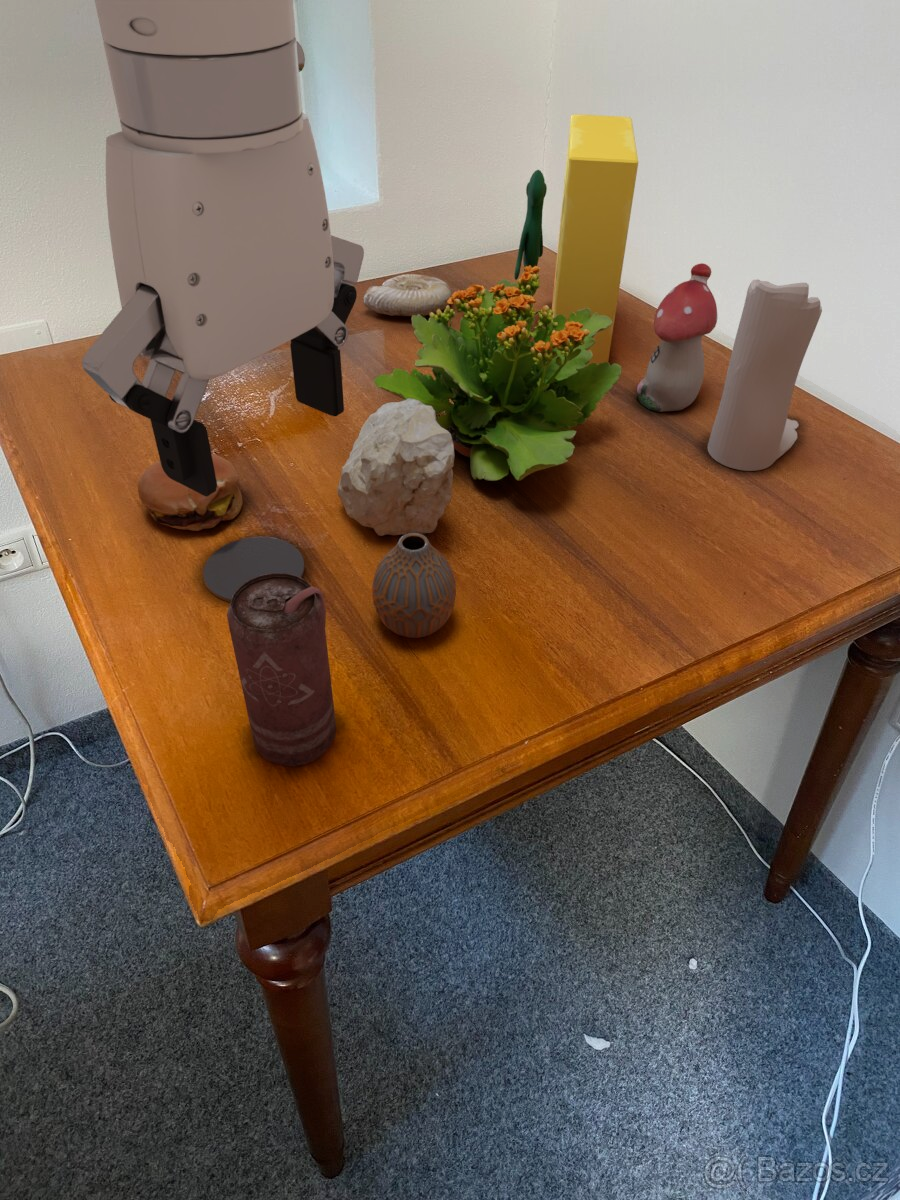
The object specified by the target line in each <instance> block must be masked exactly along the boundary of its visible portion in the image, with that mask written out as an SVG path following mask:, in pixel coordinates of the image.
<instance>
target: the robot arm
mask: <svg viewBox="0 0 900 1200" xmlns="http://www.w3.org/2000/svg"><path fill="white" fill-rule="evenodd" d="M94 4H95V8H96V14H97V18H98V22H99V28H100V32H101V38H102V41H103V48H104V52H105V57H106V61H107V66H108V71H109V76H110V82H111V85H112V91H113V95H114V100H115V104H116V109H117V114H118V118H119V123H120V127H121V131H118V132H116V133H113V134H109V135H107V136H106V139H105V191H106V193H105V194H106V207H107V218H108V229H109V235H110V236H109V237H110V244H111V251H112V259H113V266H114V272H115V278H116V284H117V290H118V296H119V301H120V307H121V309H120V311H119V312H118V313H117V315H116V316H115V317H114V318H113V319H112V321H110V322H109V324H108V325H107V326H106V328H105V329H104V330H103V332H102V333H101V334H100V335H99V336H98V337H97V338H96V339H95V341H94V342H93V343H92V344H91V346H90V347H89V348H88V349H87V351H85V353H84V354H83V356H82V358H81V366H82V370H84V372H86V374H88V376H89V377H91V379H92V380H93V381H94V382H95V383H96V384H97V385H98V386H99V387H100V388H101V389H102V390H103V391H104V392H105V393H107V394H108V397H109V398H110V400H111V401H112V402H114V403H116V404H117V405H119V406H122V407H124V408H126V409H128V410H130V411H132V412H134V413H136V414H138V415H140V416H143V417H144V418H147V419H149V421H150V423H151V429H152V432H153V436H154V437H153V438H154V440H155V444H156V449H157V452H158V453H157V454H158V457H159V460H160V462H161V466H162V469H163V470H164V472H165V474H166V475H167V476H168V477H169V478H171V479H172V480H174V481H176V482H178V483H180V484H182V485H184V486H186V487H188V488H190V489H192V490H194V491H196V492H198V493H200V494H202V495H204V496H209V495H210V494H212V493H214V492H215V491H216V487H217V481H216V475H215V470H214V465H213V460H212V454H213V453H212V450H211V443H210V439H209V433H208V430H207V427H206V425H205V424H204V423H203V422H201V421H199V420H196V416H197V413H198V412H199V408H200V405H201V403H202V400H203V397H204V395H205V392H206V391H207V387H208V384H209V382H210V380H212V379H216V378H218V377H221V376H223V375H225V374H227V373H229V372H231V371H234V370H235V369H237V368H239V367H241V366H243V365H245V364H247V363H249V362H251V361H253V360H255V359H257V358H259V357H261V356H263V355H265V354H267V353H269V352H271V351H273V350H275V349H276V348H278V347H280V346H282V345H284V344H286V343H288V342H290V344H289V345H290V346H289V347H290V356H291V363H292V364H291V365H292V374H293V382H294V392H295V393H294V394H295V398H296V400H297V402H298V403H300V404H302V405H305V406H307V407H309V408H312V409H315V410H317V411H319V412H322V413H324V414H326V415H327V416H331V417H338V416H339V415H340V414H343V413H344V411H345V404H344V389H343V388H344V387H343V386H344V385H343V373H342V358H341V349H339V348H340V347H342V346H343V345H345V343H346V342H347V339H348V336H349V330H348V327H347V325H346V323H347V321H348V318H349V316H350V314H351V312H352V311H353V307H354V305H355V304H356V301H357V295H358V294H357V293H358V292H357V289H356V287H355V285H357V284H358V281H359V276H360V272H361V269H362V264H363V261H364V255H365V249H364V247H363V246H362V245H361V244H358V243H355V242H351V241H349V240H346V239H343V238H340V237H338V236H334V235H332V233H331V226H330V217H329V211H328V210H329V209H328V203H327V197H326V191H325V186H324V179H323V175H322V169H321V165H320V159H319V155H318V150H317V147H316V143H315V138H314V135H313V130H312V127H311V124H310V120H309V116H308V115H307V114H306V113H304V112H303V105H302V93H301V81H300V80H301V79H300V72H302V71H303V69H304V67H305V64H306V57H305V52H304V49H303V47H302V45H301V44H300V42H299V41H298V40H297V37H296V25H295V24H296V22H295V10H294V0H94ZM139 357H143V358H149V361H148V364H147V367H146V370H145V372H144V375H143V377H142V380H141V381H140V378H139V377H138V376H137V375H136V373H135V370H134V365H135V362H136V361H137V359H138V358H139ZM176 371H177V372H179V373H181V377H180V378H179V381H178V384H177V386H176V389H175V390H174V394H173V397H172V399H170V398H168V397H167V395H168V392H169V389H170V387H171V384H172V381H173V379H174V376H175V374H176ZM211 453H212V454H211Z"/></svg>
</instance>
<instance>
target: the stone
mask: <svg viewBox="0 0 900 1200" xmlns="http://www.w3.org/2000/svg"><path fill="white" fill-rule="evenodd" d="M436 415H437V414H436V413H435V410H434V409H433V407H432V406H427V405H424V404H423V403H422V402H420V401H419V400H416V399H410V398H408V399H407V400H404V399H403V400H401V401H398V402H395V401H393V402H392V401H391V402H386V403H383V404H382V405H381V406H380V407H379V408H378V409H376V411H375V412H373V413H371V414H370V415H369V416H368V417H367V419H366V420H365V422H364V423H363V425H362V426H361V428H360V431H359V434H358V437H357V438H356V440H355V441H354V443H353V445H352V449H351V451H350V452H349V458H347V459H346V462H345V464H344V465H343V466H342V467H341V472H340V478H339V483H338V485H337V489H336V490H337V496H338V498H339V499H340V501H341V504H342V506H343V508H344V509H345V512H346V514H347V516H348V517H349V518H350V519H353V520H355V521H356V522H357V523H359V525H361V526H363V527H364V528H367V527H368V528H370V529H371V528H372V529H373V530H374V532H375V534H377V535H378V536H379V537H383V536H386V535H389V536H401V535H403V536H404V535H406V534H409V533H419V534H422V535H425V534H431V533H433V532H434V531H435V530H436V528H437V526H438V520H439V519H440V518H442V517H443V516H444V514H445V509H446V507H448V506H449V505H450V503H451V500H452V497H453V496H452V495H453V482H454V470H453V467H454V462H455V456H456V455H455V449H454V446H453V441H452V437H451V434H450V433H449V432H448V431H447V430H446V429H444V428H442V427H441V426H440V425H439V424H438V423H437V421H436V418H437V417H436Z"/></svg>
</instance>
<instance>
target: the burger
mask: <svg viewBox="0 0 900 1200" xmlns="http://www.w3.org/2000/svg"><path fill="white" fill-rule="evenodd" d="M211 454H212V460H213V465H214V470H215V475H216V481H217V487H216V491H215V492H214V493H212V494H210V495H209V496H204V495H202V494H200V493H198V492H196V491H194V490H192V489H190V488H188V487H186V486H184V485H182V484H180V483H178V482H176V481H174V480H172V479H171V478H169V477H168V476H167V475H166V474H165V472H164V470H163V469H162V466H161V462H160V459H159V460H157V461H155V462H154V463H152V464H151V465H150V466H148V467H147V468H146V469H145V471H144V472H143V474H142V475H141V476H140V478H139V481H138V484H137V493H138V498H139V499H140V501H141V503H142V504H143V506H144V507H145V508H146V509H147V511H148V513H149V514H150V516H151V518H153V520H154V521H155V522H156V523H157V524H160V525H164V526H167V527H171V528H173V529H177V530H189V531H194V532H195V531H196V532H198V531H201V530H203V529H212V528H214V527H216V526H217V525H218V524H219V523H221V521H230V520H233V519H235V518H236V517H237V516H238V515H239V513H241V510H242V507H243V504H244V502H243V495H242V492H241V489H240V487H239V475H238V472H237V470H236V468H235V467H234V466H233V464H232V463H231V462H229V461H228V460H227V459H226V458H225V457H221V456H220V455H219V454H216V453H212V452H211Z"/></svg>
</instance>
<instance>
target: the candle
mask: <svg viewBox="0 0 900 1200" xmlns="http://www.w3.org/2000/svg"><path fill="white" fill-rule="evenodd" d="M809 287H810V285H809V283H807V282H796V283H795V282H794V283H789V284H783V285H781V284H780V285H776V284H773V282H770V281H768V280H767V281H766V280H760V279H752V281H751V282H750V283H749V284H748V287H747V291H746V296H745V299H744V304H743V308H742V312H741V316H740V319H739V323H738V327H737V330H736V335H735V340H734V342H733V347H732V352H731V355H730V359H729V363H728V368H727V372H726V376H725V381H724V386H723V389H722V395H721V398H720V402H719V405H718V409H717V412H716V415H715V418H714V422H713V425H712V429H711V432H710V435H709V439H708V442H707V446H706V447H707V452H708V454H709V456H711V458H712V459H713V460H715V461H716V462H717V463H719V464H720V465H723V466H725V467H728V468H731V469H734V470H737V471H744V472H752V471H753V472H754V471H761V470H765V469H768V468H769V467H771V466H772V465H773V464H774V463H775V462H776V461H777V460H778V459H779V458H780V457H781V456H783V455H785V453H786V452H788V451H789V450H790V449H791V448H792V447H793V445H794V444H795V442H796V441H798V432H797V431H796V430H797V428H799V422H798V421H797V420H794V419H790V418H788V416H789V412H790V407H791V403H792V397H793V393H794V389H795V386H796V382H797V379H798V376H799V372H800V369H801V366H802V364H803V361H804V359H805V356H806V353H807V351H808V347H809V346H810V343H811V340H812V339H813V337H814V336H813V335H814V333H815V331H816V329H817V325H818V323H819V321H820V318H821V315H822V312H823V308H822V305H821V300H820V299H819V297H818V296H810V297H809V294H810V293H809V290H810V288H809Z"/></svg>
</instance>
